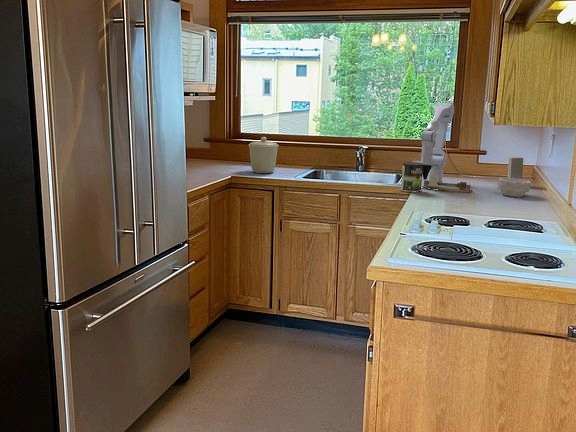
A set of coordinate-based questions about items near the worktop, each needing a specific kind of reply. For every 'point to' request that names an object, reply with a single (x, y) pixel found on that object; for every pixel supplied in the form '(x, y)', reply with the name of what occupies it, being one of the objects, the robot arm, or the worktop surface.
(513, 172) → the skincare box
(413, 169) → the coffee can
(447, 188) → the cable cradle
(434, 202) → the worktop surface
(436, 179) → the marker sleeve
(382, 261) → the worktop surface
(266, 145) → the canister
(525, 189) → the paper bowls
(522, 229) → the worktop surface
